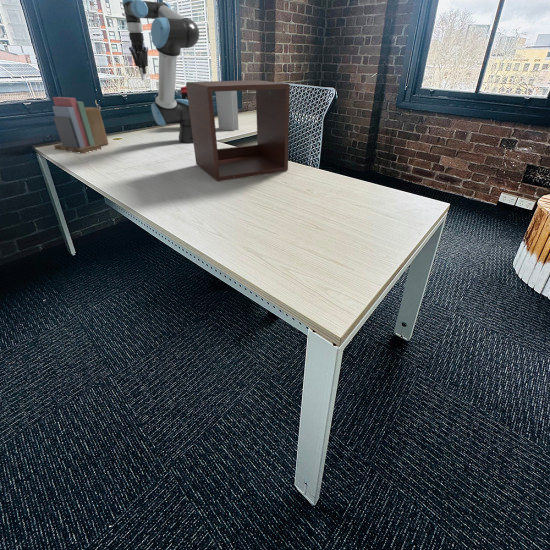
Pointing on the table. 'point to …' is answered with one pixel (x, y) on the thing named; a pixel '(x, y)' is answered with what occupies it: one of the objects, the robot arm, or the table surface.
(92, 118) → the wooden block
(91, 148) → the walnut shelf board
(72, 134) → the row of books
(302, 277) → the table surface
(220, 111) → the grey upright pillar
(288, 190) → the table surface
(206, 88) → the storage cube
